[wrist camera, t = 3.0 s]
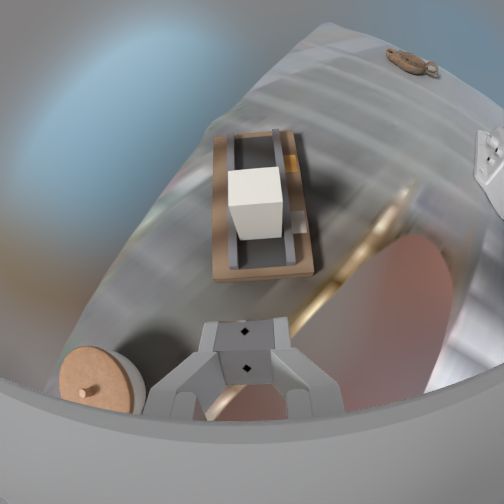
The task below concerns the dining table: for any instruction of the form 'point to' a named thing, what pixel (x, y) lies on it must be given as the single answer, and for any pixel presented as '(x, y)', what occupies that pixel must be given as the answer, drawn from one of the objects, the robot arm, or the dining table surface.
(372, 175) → the dining table surface
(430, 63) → the oil lamp
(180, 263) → the dining table surface
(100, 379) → the lidded jar
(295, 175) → the switch housing
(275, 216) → the switch knob
